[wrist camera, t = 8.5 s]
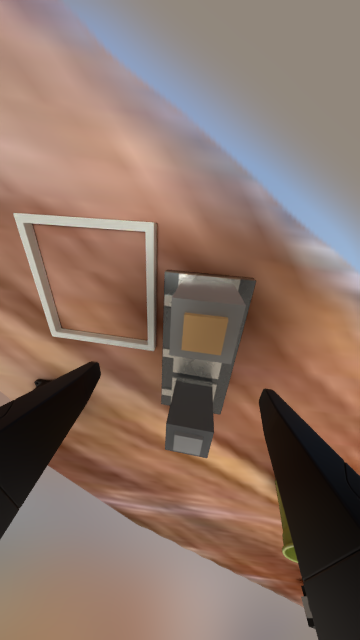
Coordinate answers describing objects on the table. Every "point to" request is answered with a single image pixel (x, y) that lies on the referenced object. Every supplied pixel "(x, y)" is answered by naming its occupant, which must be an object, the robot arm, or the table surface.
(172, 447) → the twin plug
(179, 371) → the strip
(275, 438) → the robot arm
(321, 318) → the table surface
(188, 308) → the plug
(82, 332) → the white square frame
